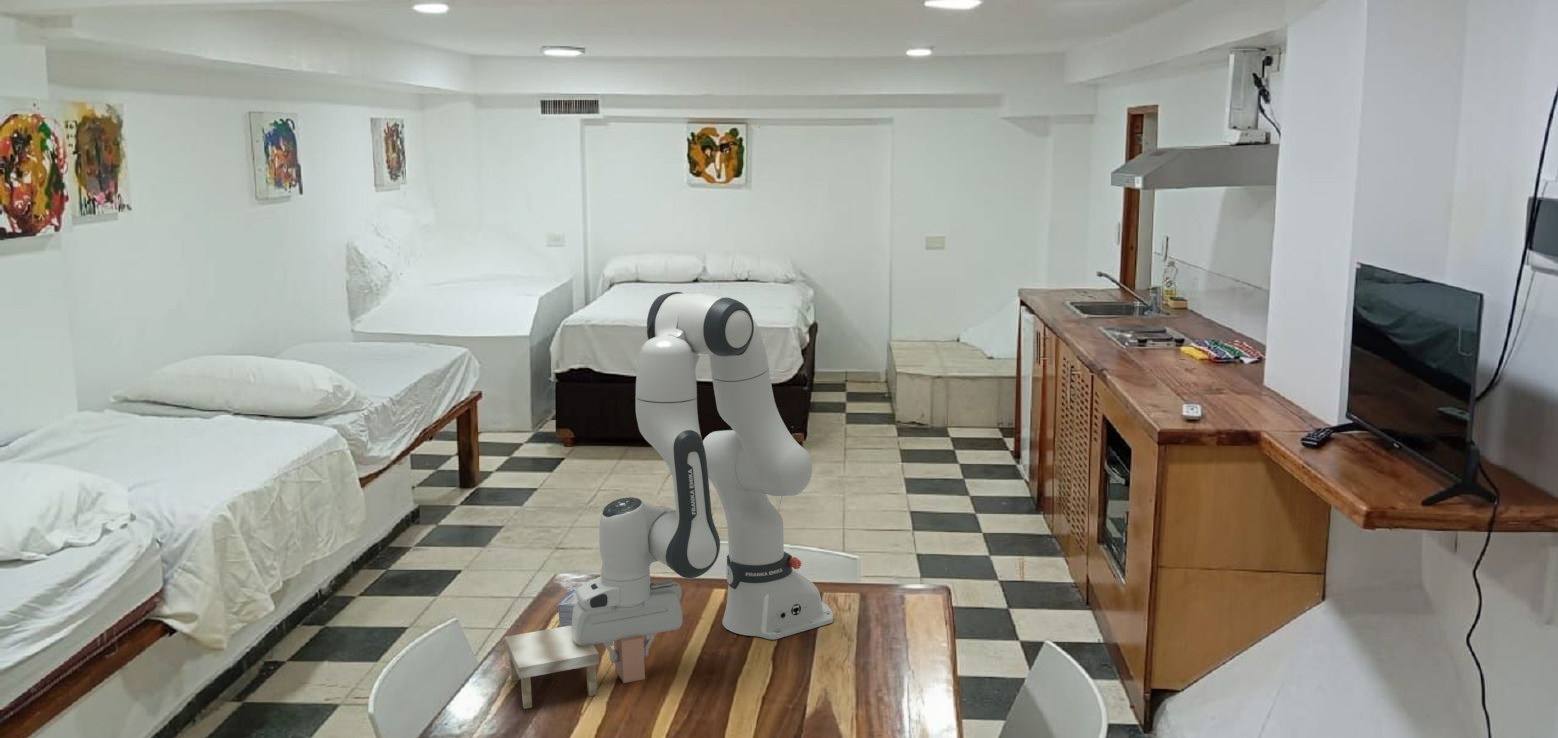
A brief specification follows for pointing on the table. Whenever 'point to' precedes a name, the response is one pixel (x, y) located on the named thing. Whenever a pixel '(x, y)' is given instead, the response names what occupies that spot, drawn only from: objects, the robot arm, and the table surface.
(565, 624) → the medicine box
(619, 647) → the block
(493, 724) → the table surface
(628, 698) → the table surface
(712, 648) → the table surface
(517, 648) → the footstool
